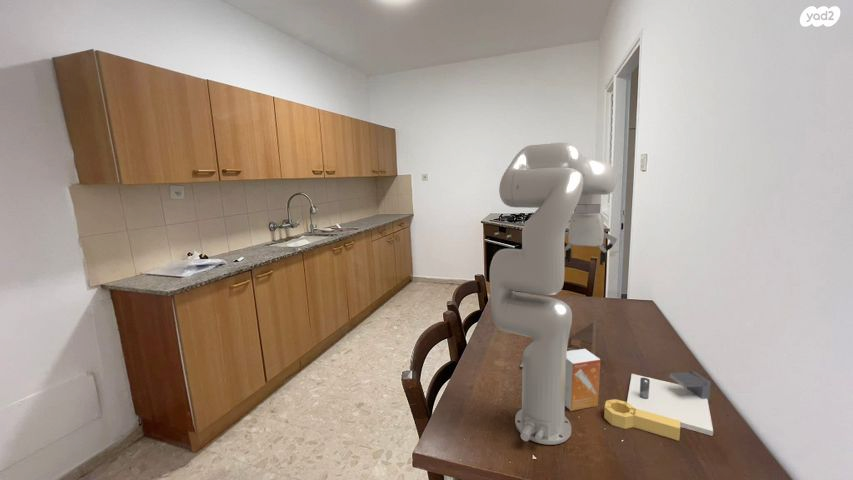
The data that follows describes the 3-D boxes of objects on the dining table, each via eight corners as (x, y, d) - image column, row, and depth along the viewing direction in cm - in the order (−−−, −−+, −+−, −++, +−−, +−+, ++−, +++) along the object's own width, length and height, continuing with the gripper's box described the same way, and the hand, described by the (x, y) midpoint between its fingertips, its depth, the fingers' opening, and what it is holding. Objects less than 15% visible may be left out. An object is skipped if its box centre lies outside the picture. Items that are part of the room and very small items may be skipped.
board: (712, 436, 80) (713, 431, 79) (625, 411, 89) (626, 406, 89) (705, 394, 94) (705, 390, 94) (631, 377, 104) (631, 373, 103)
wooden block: (591, 365, 111) (594, 310, 108) (557, 355, 118) (558, 303, 115) (595, 360, 114) (597, 306, 111) (561, 351, 121) (562, 300, 118)
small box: (570, 412, 89) (572, 363, 87) (556, 397, 95) (557, 351, 93) (598, 406, 91) (601, 359, 89) (582, 392, 97) (584, 347, 95)
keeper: (693, 391, 96) (694, 371, 95) (708, 402, 91) (710, 381, 90) (668, 393, 96) (669, 373, 95) (682, 404, 91) (684, 383, 90)
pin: (647, 404, 91) (649, 382, 90) (638, 401, 92) (640, 380, 91) (648, 400, 93) (649, 378, 92) (639, 397, 94) (640, 376, 93)
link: (602, 422, 85) (603, 410, 85) (606, 407, 91) (607, 396, 90) (679, 445, 77) (680, 433, 77) (678, 428, 82) (679, 416, 82)
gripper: (556, 210, 114) (554, 262, 116) (617, 211, 105) (614, 267, 108) (560, 208, 120) (559, 258, 123) (618, 209, 111) (616, 262, 114)
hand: (585, 262), depth 115 cm, fingers open, 9 cm apart
